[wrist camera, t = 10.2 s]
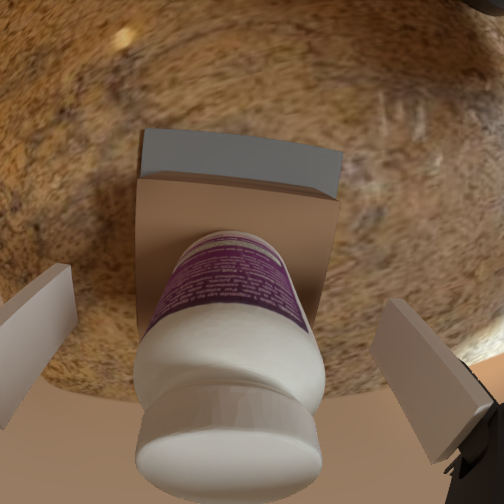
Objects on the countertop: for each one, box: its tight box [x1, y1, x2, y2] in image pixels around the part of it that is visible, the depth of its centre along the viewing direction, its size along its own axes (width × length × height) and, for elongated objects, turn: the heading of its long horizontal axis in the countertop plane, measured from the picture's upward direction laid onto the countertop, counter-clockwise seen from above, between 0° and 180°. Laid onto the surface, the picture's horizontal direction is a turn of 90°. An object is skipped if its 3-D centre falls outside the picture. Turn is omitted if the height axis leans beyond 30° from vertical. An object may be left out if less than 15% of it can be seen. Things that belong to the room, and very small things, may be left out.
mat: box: [140, 128, 343, 199], centre depth 19 cm, size 14×12×1 cm
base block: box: [135, 170, 341, 343], centre depth 16 cm, size 9×9×5 cm
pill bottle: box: [133, 231, 325, 504], centre depth 9 cm, size 5×5×10 cm
